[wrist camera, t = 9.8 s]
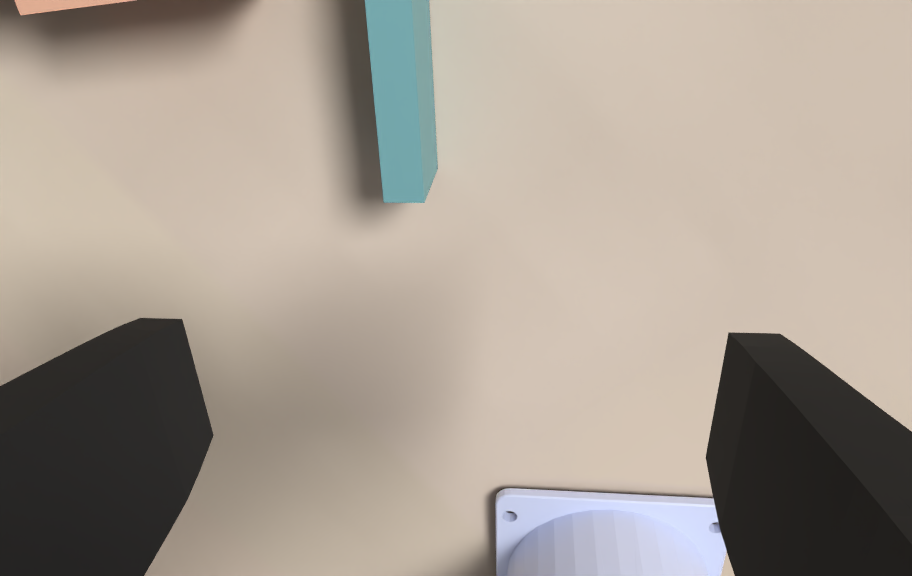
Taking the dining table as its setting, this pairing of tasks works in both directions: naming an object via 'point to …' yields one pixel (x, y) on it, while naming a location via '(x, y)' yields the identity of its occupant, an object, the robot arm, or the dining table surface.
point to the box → (403, 97)
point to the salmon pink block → (57, 5)
